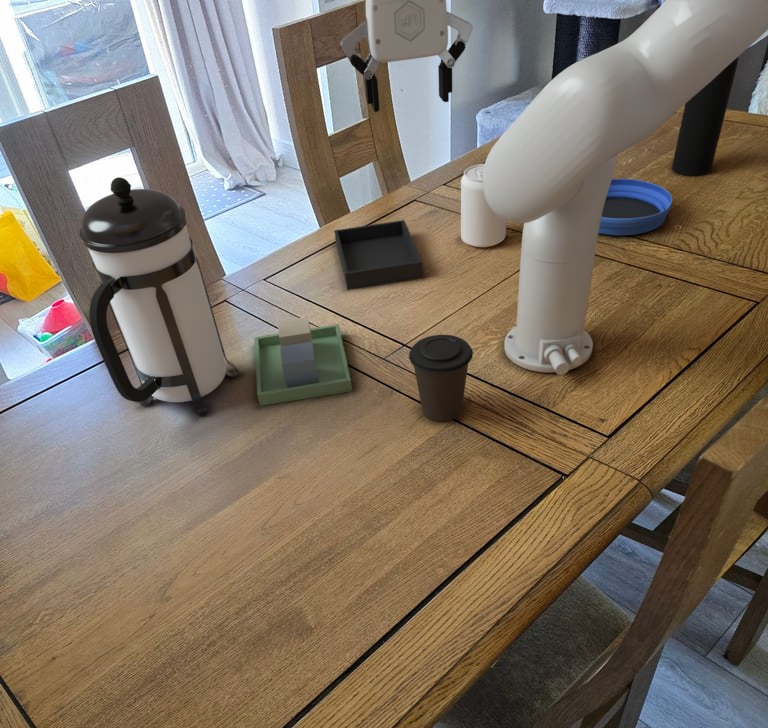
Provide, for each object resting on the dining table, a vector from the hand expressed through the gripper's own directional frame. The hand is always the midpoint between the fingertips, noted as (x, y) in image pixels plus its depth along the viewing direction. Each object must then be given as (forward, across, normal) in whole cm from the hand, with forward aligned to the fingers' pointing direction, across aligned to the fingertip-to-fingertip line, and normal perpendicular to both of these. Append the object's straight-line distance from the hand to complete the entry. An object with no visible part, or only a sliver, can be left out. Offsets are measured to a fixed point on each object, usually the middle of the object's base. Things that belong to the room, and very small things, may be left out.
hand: (409, 104), depth 96 cm
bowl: (+28, +41, +16) cm, 52 cm away
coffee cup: (+28, -3, -32) cm, 43 cm away
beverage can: (+28, +15, +15) cm, 36 cm away
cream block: (+28, -21, -14) cm, 38 cm away
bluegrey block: (+28, -21, -20) cm, 41 cm away
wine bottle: (+28, +63, +32) cm, 76 cm away
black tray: (+28, -5, +13) cm, 32 cm away
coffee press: (+28, -38, -19) cm, 51 cm away
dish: (+28, -21, -17) cm, 39 cm away
